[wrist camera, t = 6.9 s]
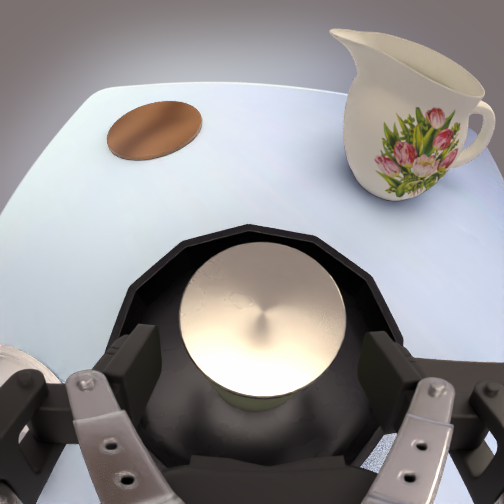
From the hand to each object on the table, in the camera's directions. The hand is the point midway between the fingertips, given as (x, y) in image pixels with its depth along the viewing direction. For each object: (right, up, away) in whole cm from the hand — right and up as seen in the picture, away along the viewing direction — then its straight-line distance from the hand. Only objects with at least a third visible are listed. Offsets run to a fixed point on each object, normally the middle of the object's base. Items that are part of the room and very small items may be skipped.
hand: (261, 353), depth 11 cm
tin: (0, -3, +7) cm, 8 cm away
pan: (+5, -4, +7) cm, 9 cm away
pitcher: (+14, +11, +17) cm, 25 cm away
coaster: (-11, +18, +21) cm, 29 cm away
